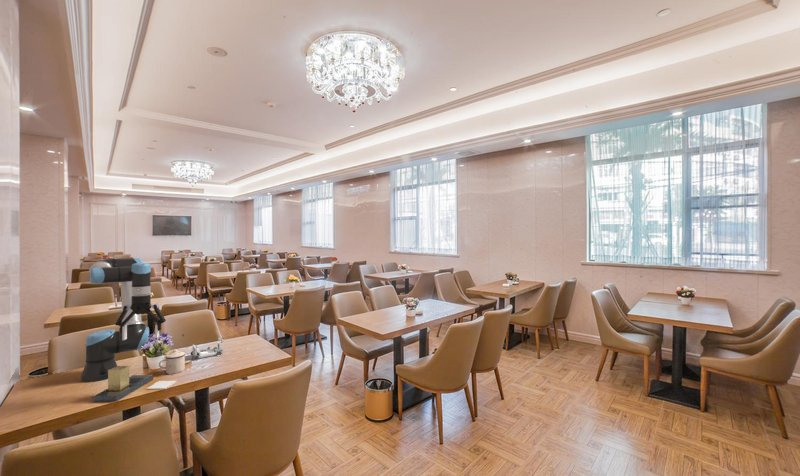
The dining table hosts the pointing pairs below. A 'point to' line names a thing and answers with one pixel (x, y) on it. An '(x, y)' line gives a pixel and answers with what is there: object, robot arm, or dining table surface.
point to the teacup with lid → (174, 362)
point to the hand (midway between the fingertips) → (141, 338)
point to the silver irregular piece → (206, 351)
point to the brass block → (118, 378)
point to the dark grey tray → (134, 384)
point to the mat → (161, 385)
